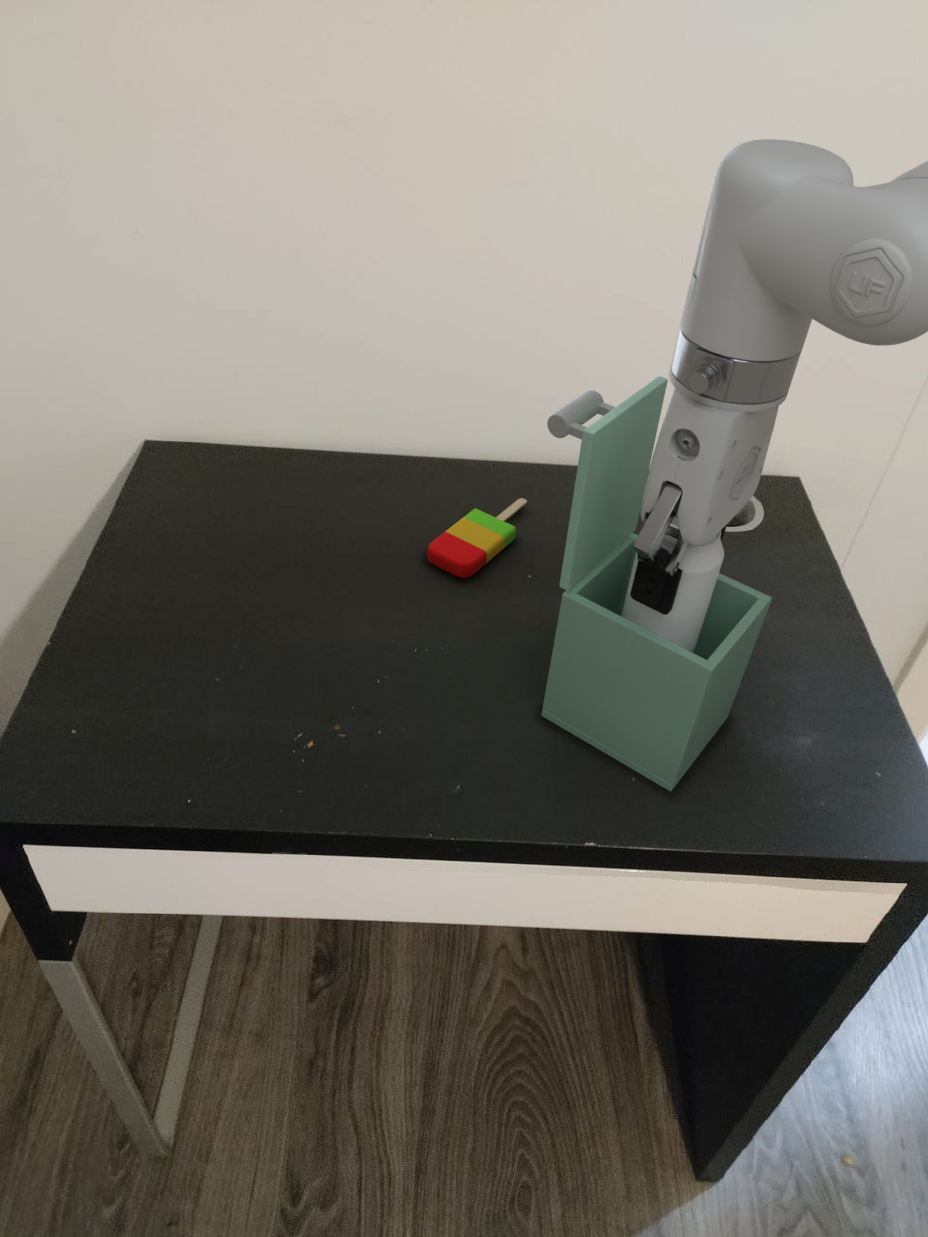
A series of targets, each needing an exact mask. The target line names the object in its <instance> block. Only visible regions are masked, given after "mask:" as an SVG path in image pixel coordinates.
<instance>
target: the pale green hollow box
mask: <svg viewBox="0 0 928 1237" xmlns="http://www.w3.org/2000/svg"><path fill="white" fill-rule="evenodd" d="M638 535H639V534H636V533H634V532H632V533H631V534H630V535H629V536H628V537H627V538H626V539H624V540H623V541H622V542H621V543H620V544H619V545H618V546H617V547H616V548H614V549H613V550H612V551H611V552H610V553H609V554H608V555H607V556H606V557H604V558H603V559H602V560H601V561H600V562H599V563H598V564H597V565H596V566H594V567H593V568H592V569H591V570H590V571H589V572H588V573H587V574H586V575H584V576H583V577H582V578H581V579H580V580H579V581H578V582H577V583H576V584H574V585H573V586H572V587H571V588H570V589H569V590H568V591H567V590H565V591H564V592H563V593H562V594H561V599H560V600H561V601H560V606H559V612H558V618H557V624H556V629H555V634H554V640H553V645H552V646H553V647H552V652H551V657H550V664H549V670H548V673H547V680H546V686H545V692H544V697H543V703H542V709H541V715H540V716H541V717H543V718H544V719H546V720H547V721H549V722H552V723H553V724H554V725H556V726H558V727H560V728H561V729H562V730H565V731H567V732H568V733H570V734H572V735H573V736H575V737H577V738H578V739H580V740H582V741H583V742H585V743H586V744H589V745H590V746H591V747H594V748H595V749H597V750H598V751H601V752H602V753H604V754H605V755H607V756H608V757H611V758H612V759H614V760H616V761H617V762H618V763H621V764H623V765H624V766H626V767H628V768H629V769H631V770H632V771H634V772H636V773H637V774H640V775H641V776H643V777H645V778H646V779H648V780H649V781H651V782H653V783H655V784H657V785H658V786H660V787H662V788H664V789H666V790H667V791H668V792H672V791H673V790H674V789H675V787H676V786H677V785H678V784H679V782H680V781H681V780H682V778H683V776H684V775H685V774H686V773H687V771H688V770H689V769H690V768H691V767H692V765H693V764H694V763H695V761H696V760H697V758H699V756H700V755H701V753H702V752H703V750H704V749H705V748H706V746H707V745H708V744H709V742H710V741H711V740H712V738H713V737H714V736H715V734H716V733H717V732H718V731H719V729H720V728H721V727H722V725H723V724H724V723H725V721H726V720H727V719H728V717H729V715H730V712H731V709H732V706H733V704H734V701H735V698H736V696H737V693H738V691H739V688H740V686H741V683H742V679H743V677H744V675H745V672H746V669H747V667H748V664H749V661H750V659H751V656H752V653H753V650H754V648H755V645H756V643H757V640H758V637H759V635H760V632H761V629H762V627H763V624H764V621H765V618H766V616H767V613H768V611H769V607H770V605H771V603H772V600H773V597H772V596H770V595H767V594H765V593H763V592H762V591H759V590H756V589H754V588H753V587H750V586H748V585H747V584H744V583H742V582H740V581H737V580H735V579H733V578H732V577H729V576H726V575H724V574H723V573H720V572H719V574H718V577H717V581H716V584H715V587H714V590H713V593H712V596H711V600H710V603H709V606H708V609H707V612H706V615H705V618H704V622H703V625H702V628H701V631H700V634H699V637H698V640H697V643H696V646H695V649H694V651H693V653H692V652H690V651H688V650H686V649H684V648H682V647H680V646H678V645H676V644H674V643H672V642H670V641H668V640H666V639H665V638H663V637H661V636H659V635H657V634H655V633H653V632H651V631H649V630H647V629H645V628H643V627H641V626H639V625H637V624H635V623H633V622H631V621H629V620H627V619H625V618H623V617H621V615H622V611H623V606H624V602H625V598H626V593H627V589H628V585H629V581H630V576H631V572H632V568H633V564H634V559H635V555H636V551H635V550H634V548H633V546H634V543H635V541H636V539H637V537H638Z"/></svg>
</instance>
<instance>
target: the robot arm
mask: <svg viewBox="0 0 928 1237" xmlns="http://www.w3.org/2000/svg"><path fill="white" fill-rule="evenodd" d="M697 243H698V244H697V248H696V253H695V257H694V261H693V265H692V270H691V275H690V277H689V278H690V279H689V284H688V288H687V291H686V296H685V301H684V305H683V309H682V314H681V319H680V324H679V327H678V330H677V331H678V332H677V336H676V339H675V345H674V349H673V353H672V358H671V362H670V367H669V370H668V378H669V379H668V380H669V381H670V383H671V385H672V386H673V387H674V390H673V392H672V395H671V397H670V401H669V403H668V406H667V409H666V413H665V414H664V415H665V416H664V418H663V420H662V421H663V422H662V425H661V428H660V431H659V434H658V438H657V441H656V443H655V446H654V450H653V453H652V457H651V462H650V466H649V471H648V476H647V480H646V484H645V489H644V493H643V498H642V504H641V508H640V513H639V515H640V519H641V522H642V523H643V526H642V528H641V530H640V532H639V533H638V534H637V535H638V537H637V539H636V541H635V543H634V546H633V548H634V550H635V551H636V552H637V560H638V563H637V567H636V572H635V576H634V580H633V584H632V588H631V593H630V596H631V598H632V599H634V600H635V601H637V602H639V603H641V604H643V605H645V606H647V607H649V608H651V609H653V610H655V611H658V612H660V613H662V614H664V615H667V614H668V613H669V612H670V611H671V610H672V607H673V604H674V600H675V597H676V593H677V590H678V586H679V583H680V579H681V576H682V572H683V570H681V569H679V568H678V567H679V565H680V563H681V560H682V558H683V556H684V553H685V551H686V549H687V546H688V544H691V546H694V547H698V546H702V545H704V544H706V543H707V542H709V541H710V540H711V539H712V538H713V537H714V536H715V535H716V534H717V533H718V532H719V531H720V530H721V536H720V539H721V543H722V542H723V539H724V536H725V532H726V530H727V525H728V524H729V523H730V522H731V521H732V520H733V519H734V518H735V516H737V515H738V513H739V512H741V510H742V509H743V508H744V507H745V506H746V505H747V504H748V503H749V502H750V500H751V499H752V498H753V496H754V494H755V493H756V491H757V489H758V486H759V482H760V479H761V476H762V473H763V469H764V466H765V462H766V457H767V456H768V455H767V454H768V451H769V447H770V443H771V440H772V436H773V432H774V428H775V424H776V421H777V417H778V416H777V415H778V411H779V408H780V407H779V406H781V405H782V404H783V403H784V402H785V401H786V399H787V397H788V394H789V392H790V388H791V385H792V383H793V379H794V376H795V373H796V370H797V367H798V364H799V360H800V358H801V355H802V351H803V348H804V345H805V343H806V339H807V336H808V333H809V331H810V327H811V324H812V321H815V322H816V323H818V324H820V325H821V326H823V327H825V328H827V329H829V330H830V331H832V332H834V333H836V334H838V335H840V336H842V337H844V338H847V339H849V340H852V341H854V342H857V343H860V344H865V345H869V346H877V347H880V346H882V347H883V346H895V345H900V344H904V343H908V342H910V341H912V340H916V339H917V338H919V337H921V336H924V335H925V334H926V333H928V160H927V161H924V162H923V163H921V164H918V165H917V166H915V167H913V168H912V169H909V170H908V171H905V172H903V173H902V174H899V175H898V176H897V177H895V178H893V179H891V181H888V182H884V183H879V184H873V185H869V186H867V185H866V186H856V185H854V174H853V172H852V169H851V166H850V165H849V163H847V161H846V160H845V159H844V158H842V156H839V155H837V154H836V153H834V152H832V151H830V150H828V149H826V148H823V147H821V146H817V145H815V144H814V145H813V144H810V143H806V142H800V141H795V140H786V139H775V138H774V139H773V138H771V139H770V138H769V139H768V138H767V139H754V140H753V139H752V140H747V141H744V142H741V143H738V144H736V145H734V146H733V147H731V148H730V149H729V150H727V151H726V152H725V153H724V155H723V156H722V158H721V159H720V161H719V163H718V165H717V166H716V169H715V172H714V176H713V178H712V183H711V187H710V191H709V196H708V200H707V204H706V209H705V212H704V218H703V222H702V226H701V230H700V235H699V240H698V242H697ZM674 517H676V518H678V521H679V527H678V526H676V525H674V524H672V523H671V522H672V521H673V519H674ZM665 534H667V535H669V536H671V537H674V538H676V539H678V540H677V542H676V544H675V546H674V549H673V551H672V554H670V553H669V552H668V550H666V549H664V548H662V544H661V543H662V539H663V537H664V535H665ZM722 544H723V543H722Z"/></svg>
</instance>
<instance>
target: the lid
mask: <svg viewBox="0 0 928 1237" xmlns="http://www.w3.org/2000/svg"><path fill="white" fill-rule="evenodd" d="M668 382H669V379H668V378H665V377H664V376H663V377H662V376H660V375H659V376H657V377H656V378H655V379H653V380H651V381H650V382H649V383H647V384H646V385H644V386H643V387H642V388H640V389H639V390H637V391H636V392H634V393H633V394H632V395H630V396H629V397H628V398H626V399H625V400H624V401H622V402H621V403H619V404H618V405H617V406H613V405H612V404H608V403H606V402H605V400H604V398H603V396H602V394H600V393H599V392H598V391H596V390H588V391H585V392H584V393H583V394H581V395H579V396H578V397H577V398H575V399H573V400H572V401H571V402H570V403H568V404H567V405H565V406H563V407H562V408H560V409H559V410H558V411H556V412H554V413H553V414H551V416H549V417H548V418H547V430H548V431H549V434H551V435H552V436H553V437H555V438H557V439H563V438H566V437H567V436H572V437H575V438H576V439H579V440H581V443H580V450H579V455H578V460H577V461H578V462H577V468H576V475H575V481H574V488H573V493H572V494H573V495H572V499H571V500H572V502H571V508H570V514H569V521H568V527H567V533H566V540H565V546H564V553H563V558H562V566H561V572H560V579H559V584H558V585H559V586H558V587H559V588H561V589H563V590H565V591H566V590H567V591H568V590H569V589H570V588H571V587H572V586H573V585H574V584H576V583H577V582H578V581H579V580H580V579H581V578H582V577H583V576H584V575H586V574H587V573H588V572H589V571H590V570H591V569H592V568H593V567H594V566H596V565H597V564H598V563H599V562H600V561H601V560H602V559H603V558H604V557H606V556H607V555H608V554H609V553H610V552H611V551H612V550H613V549H614V548H616V547H617V546H618V545H619V544H620V543H621V542H622V541H623V540H624V539H626V538H627V537H628V536H629V535H630V534H631V533H634V532H635V531H636V530H637V526H638V522H639V518H640V512H641V504H642V498H643V493H644V489H645V484H646V480H647V476H648V472H649V468H650V465H651V461H652V457H653V453H654V449H655V444H656V439H657V433H658V429H659V424H660V419H661V415H662V409H663V405H664V401H665V396H666V391H667V386H668ZM597 415H600V416H601V417H600V418H599V419H597V420H596V421H594V422H592V423H591V424H590V425H588V426H584V424H586V423H587V422H588V421H590V420H591V419H593V418H594V417H595V416H597Z"/></svg>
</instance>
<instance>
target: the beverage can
mask: <svg viewBox="0 0 928 1237" xmlns="http://www.w3.org/2000/svg"><path fill="white" fill-rule="evenodd" d="M671 523H672V524H674V525H676V526H678V527H679V521H678V518H676V517H674V519H673V521H672V522H671ZM720 536H721V530H720V531H719V532H718V533H717V534H716V535H715V536H714V537H713V538H712V539H711V540H710V541H709V542H707V543H706V544H704V545H702V546H698V547H694V546H691V544H688V546H687V549H686V551H685V553H684V556H683V558H682V560H681V563H680V565H679V567H678V568H679V569H681V570H683V572H682V576H681V579H680V583H679V586H678V590H677V593H676V597H675V600H674V604H673V607H672V610H671V611H670V612H669V613H668V614H667V615H664V614H662V613H660V612H658V611H655V610H653V609H651V608H649V607H647V606H645V605H643V604H641V603H639V602H637V601H635V600H634V599H632V598H631V596H630V593H631V588H632V584H633V580H634V576H635V572H636V567H637V563H638V560H637V552H636V555H635V559H634V564H633V568H632V572H631V576H630V581H629V585H628V589H627V593H626V598H625V602H624V606H623V611H622V615H621V617H623V618H625V619H627V620H629V621H631V622H633V623H635V624H637V625H639V626H641V627H643V628H645V629H647V630H649V631H651V632H653V633H655V634H657V635H659V636H661V637H663V638H665V639H666V640H668V641H670V642H672V643H674V644H676V645H678V646H680V647H682V648H684V649H686V650H688V651H690V652H692V653H693V651H694V649H695V646H696V643H697V640H698V637H699V634H700V631H701V628H702V625H703V622H704V618H705V615H706V612H707V609H708V606H709V603H710V600H711V596H712V593H713V590H714V587H715V584H716V581H717V577H718V574H719V573H720V571H721V568H722V565H723V562H724V558H725V549H724V546H723V543H721V539H720ZM677 540H678V539H676V538H674V537H671V536H669V535H667V534H665V535H664V537H663V539H662V543H661V544H662V548H664V549H666V550H668V552H669V553H670V554H672V551H673V549H674V546H675V544H676V542H677Z"/></svg>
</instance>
